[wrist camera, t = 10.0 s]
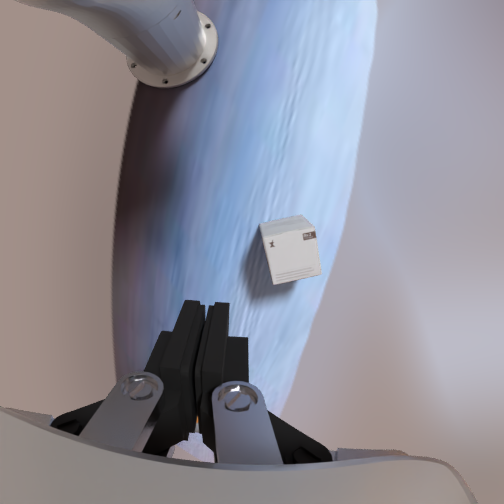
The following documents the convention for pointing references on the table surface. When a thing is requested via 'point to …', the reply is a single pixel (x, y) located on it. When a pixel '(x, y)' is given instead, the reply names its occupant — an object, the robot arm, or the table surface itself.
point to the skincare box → (290, 249)
